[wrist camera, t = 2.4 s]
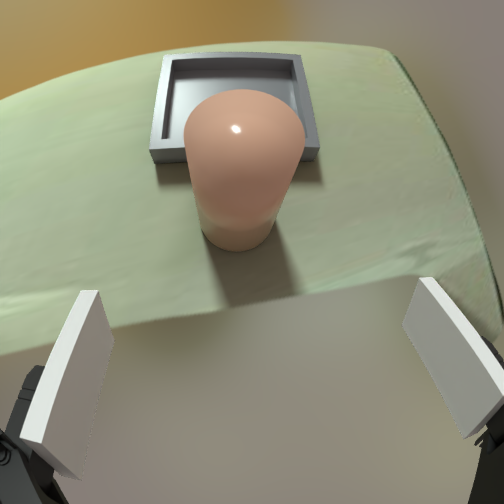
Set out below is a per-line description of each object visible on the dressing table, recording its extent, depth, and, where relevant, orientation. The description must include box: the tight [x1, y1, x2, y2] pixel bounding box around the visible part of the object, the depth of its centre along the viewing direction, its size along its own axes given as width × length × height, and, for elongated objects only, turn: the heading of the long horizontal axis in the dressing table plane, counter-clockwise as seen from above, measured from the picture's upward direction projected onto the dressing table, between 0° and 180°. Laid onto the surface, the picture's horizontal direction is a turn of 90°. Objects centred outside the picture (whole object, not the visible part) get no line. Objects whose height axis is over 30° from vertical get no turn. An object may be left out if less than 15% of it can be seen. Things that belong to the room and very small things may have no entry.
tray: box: [149, 52, 320, 164], centre depth 29 cm, size 15×13×2 cm
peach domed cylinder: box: [183, 89, 305, 252], centre depth 22 cm, size 6×6×12 cm
